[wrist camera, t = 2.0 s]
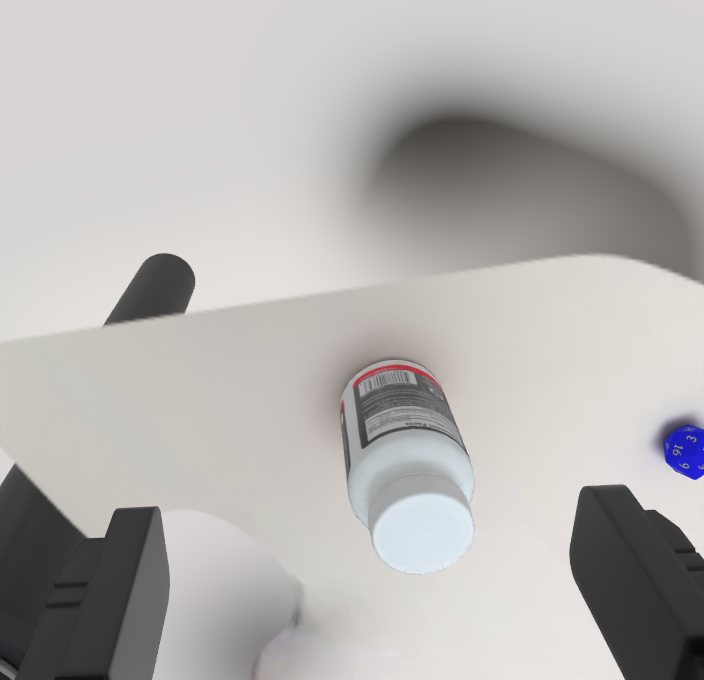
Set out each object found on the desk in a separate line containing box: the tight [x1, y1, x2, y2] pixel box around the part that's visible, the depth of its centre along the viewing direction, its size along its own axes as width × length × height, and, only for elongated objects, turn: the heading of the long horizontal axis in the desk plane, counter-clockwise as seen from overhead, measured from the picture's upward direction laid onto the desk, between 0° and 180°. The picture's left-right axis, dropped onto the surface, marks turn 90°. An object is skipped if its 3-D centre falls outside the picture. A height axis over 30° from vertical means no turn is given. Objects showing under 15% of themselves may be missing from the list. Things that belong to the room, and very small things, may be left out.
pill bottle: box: [340, 360, 474, 574], centre depth 30 cm, size 5×5×10 cm
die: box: [663, 425, 704, 480], centre depth 36 cm, size 3×3×3 cm
